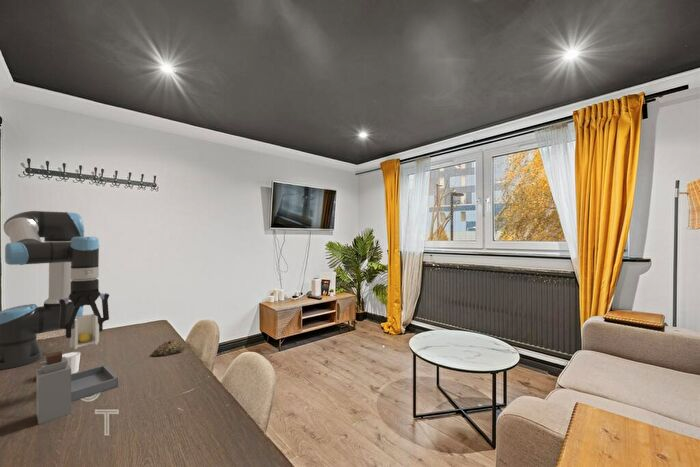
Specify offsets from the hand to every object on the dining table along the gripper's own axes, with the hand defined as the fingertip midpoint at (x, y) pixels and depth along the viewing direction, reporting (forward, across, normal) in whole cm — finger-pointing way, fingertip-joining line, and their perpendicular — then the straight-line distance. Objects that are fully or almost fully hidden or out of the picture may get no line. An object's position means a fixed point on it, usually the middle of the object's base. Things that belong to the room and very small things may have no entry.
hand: (84, 343), depth 106 cm
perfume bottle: (+15, -10, -16) cm, 24 cm away
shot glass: (+15, -2, +18) cm, 23 cm away
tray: (+15, -1, -2) cm, 15 cm away
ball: (-2, 0, +1) cm, 2 cm away
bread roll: (+15, +32, +11) cm, 37 cm away
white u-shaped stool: (0, 0, 0) cm, 0 cm away
